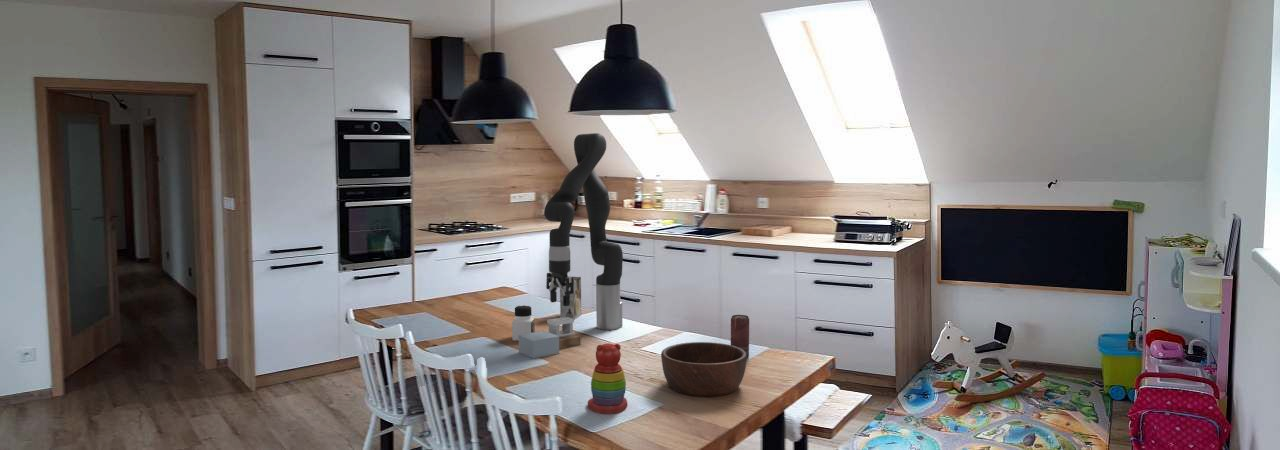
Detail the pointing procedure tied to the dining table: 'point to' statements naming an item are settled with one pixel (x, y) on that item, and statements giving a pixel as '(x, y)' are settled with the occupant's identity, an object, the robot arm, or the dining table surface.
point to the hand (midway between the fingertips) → (559, 303)
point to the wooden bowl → (703, 368)
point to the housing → (566, 326)
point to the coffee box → (572, 301)
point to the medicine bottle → (522, 322)
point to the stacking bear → (608, 381)
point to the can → (740, 332)
